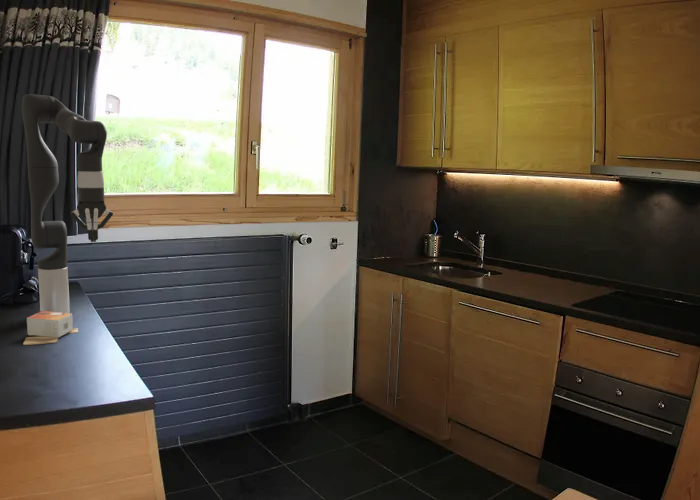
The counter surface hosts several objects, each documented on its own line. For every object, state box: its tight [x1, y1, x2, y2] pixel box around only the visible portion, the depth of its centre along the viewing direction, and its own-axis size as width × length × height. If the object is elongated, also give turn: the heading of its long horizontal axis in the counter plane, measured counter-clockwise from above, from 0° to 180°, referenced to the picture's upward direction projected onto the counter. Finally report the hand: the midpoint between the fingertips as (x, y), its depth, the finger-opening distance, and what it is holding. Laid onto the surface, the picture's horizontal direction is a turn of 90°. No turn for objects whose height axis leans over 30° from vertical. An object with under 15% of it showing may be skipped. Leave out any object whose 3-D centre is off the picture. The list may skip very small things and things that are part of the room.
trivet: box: [22, 336, 59, 346], centre depth 189 cm, size 7×9×1 cm
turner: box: [28, 327, 79, 337], centre depth 197 cm, size 14×5×1 cm, turn 114°
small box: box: [26, 311, 74, 338], centre depth 195 cm, size 8×6×10 cm
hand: (93, 241), depth 196 cm, fingers closed
